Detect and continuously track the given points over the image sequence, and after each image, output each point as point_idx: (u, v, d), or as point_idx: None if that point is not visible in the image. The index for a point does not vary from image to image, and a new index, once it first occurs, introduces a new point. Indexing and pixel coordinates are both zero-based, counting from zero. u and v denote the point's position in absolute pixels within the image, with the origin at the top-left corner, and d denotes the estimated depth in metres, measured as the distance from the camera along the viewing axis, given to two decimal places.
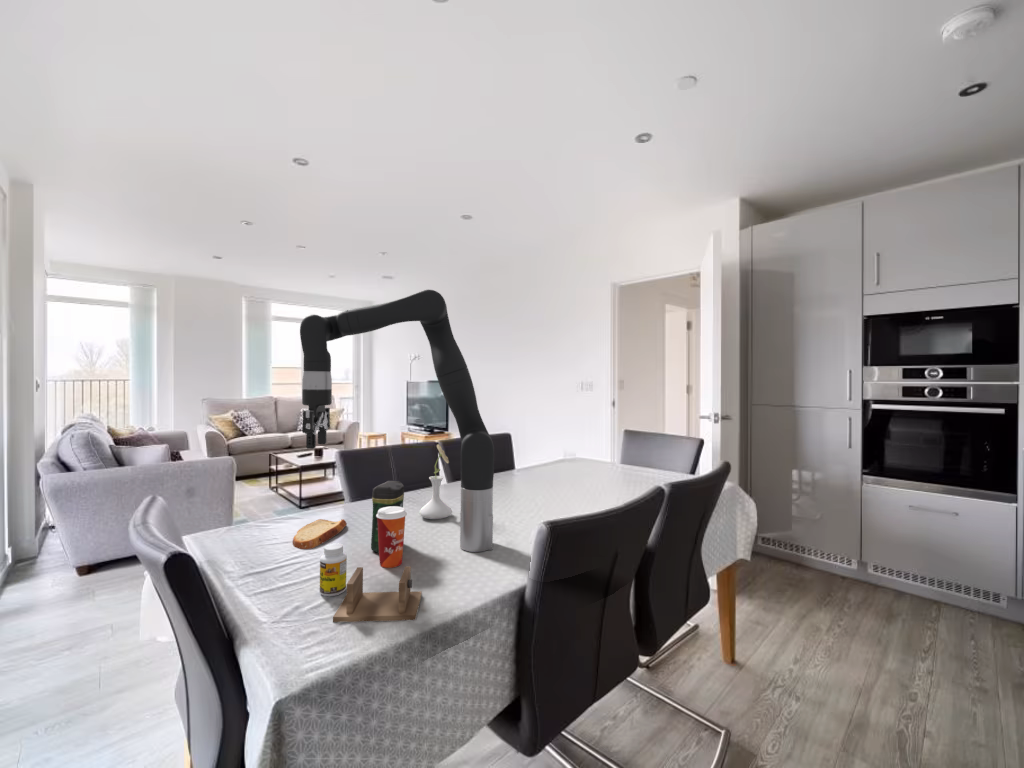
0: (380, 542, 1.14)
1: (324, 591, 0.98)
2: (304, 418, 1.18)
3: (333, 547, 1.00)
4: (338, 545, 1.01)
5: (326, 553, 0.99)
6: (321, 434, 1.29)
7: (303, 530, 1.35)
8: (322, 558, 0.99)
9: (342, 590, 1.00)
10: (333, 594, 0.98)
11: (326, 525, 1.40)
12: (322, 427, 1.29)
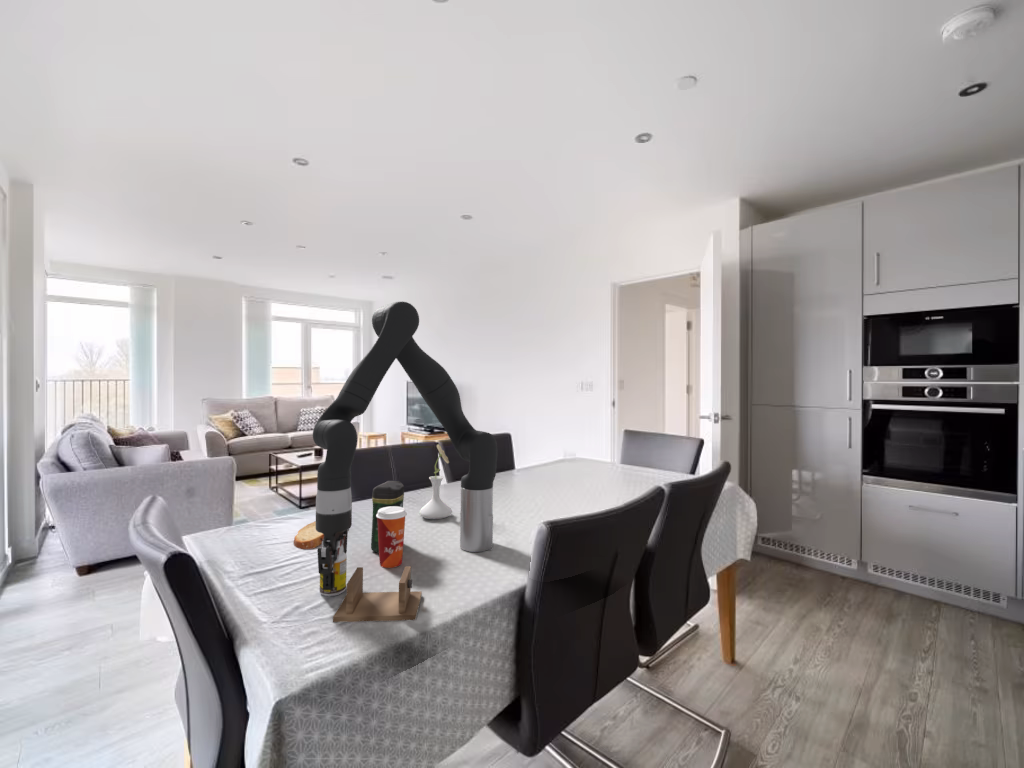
0: (380, 542, 1.14)
1: (324, 591, 0.98)
2: (320, 558, 0.94)
3: None
4: None
5: None
6: None
7: (304, 530, 1.35)
8: None
9: (342, 590, 1.00)
10: (333, 594, 0.98)
11: None
12: None
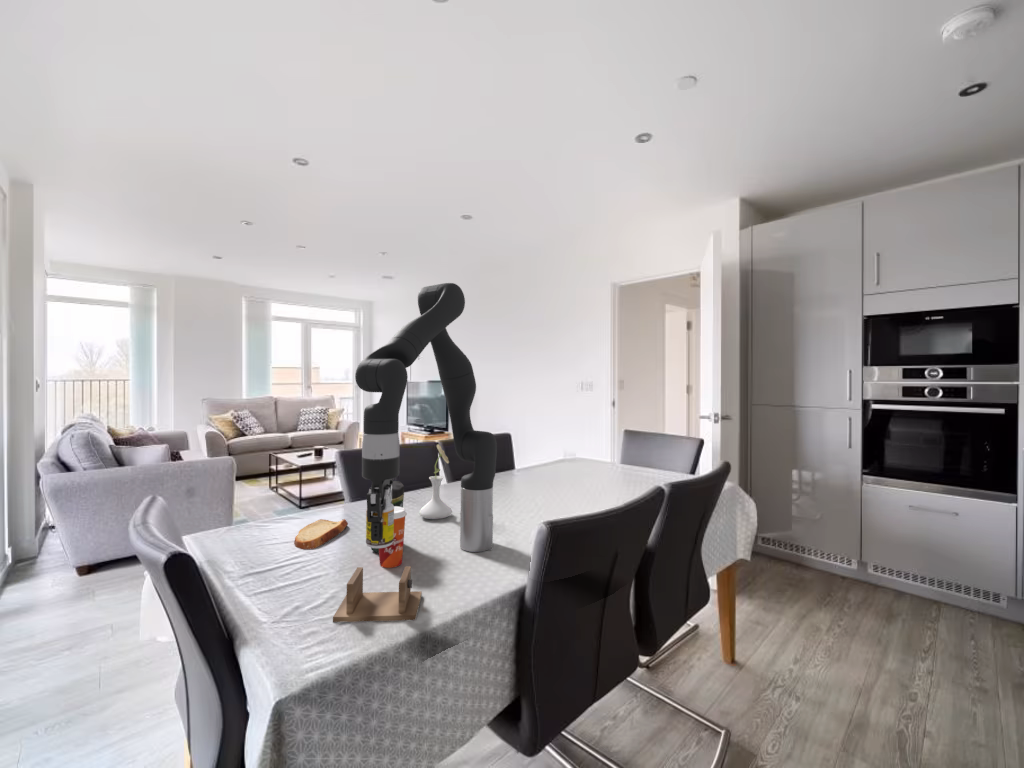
0: None
1: (372, 543, 0.91)
2: (369, 505, 0.87)
3: None
4: None
5: None
6: None
7: (305, 530, 1.35)
8: None
9: (390, 542, 0.93)
10: (381, 546, 0.91)
11: (327, 525, 1.40)
12: None
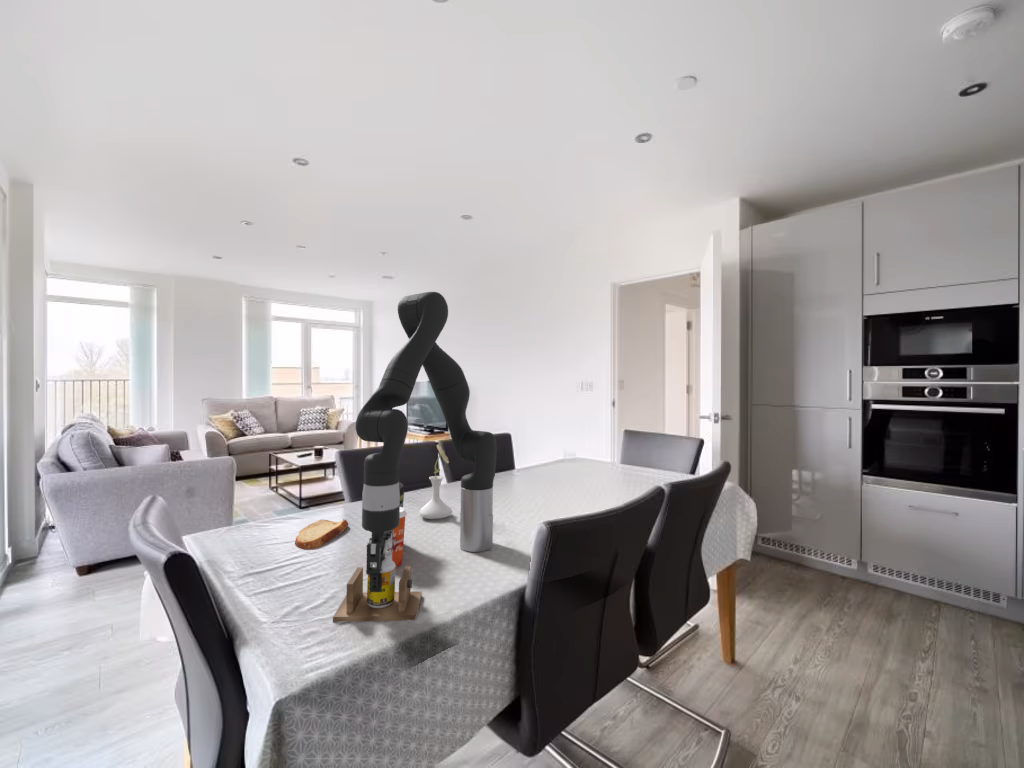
0: None
1: (373, 603, 0.91)
2: (369, 555, 0.87)
3: None
4: (387, 553, 0.94)
5: (375, 562, 0.92)
6: None
7: (305, 531, 1.35)
8: None
9: (391, 601, 0.93)
10: (383, 606, 0.91)
11: (328, 525, 1.40)
12: None
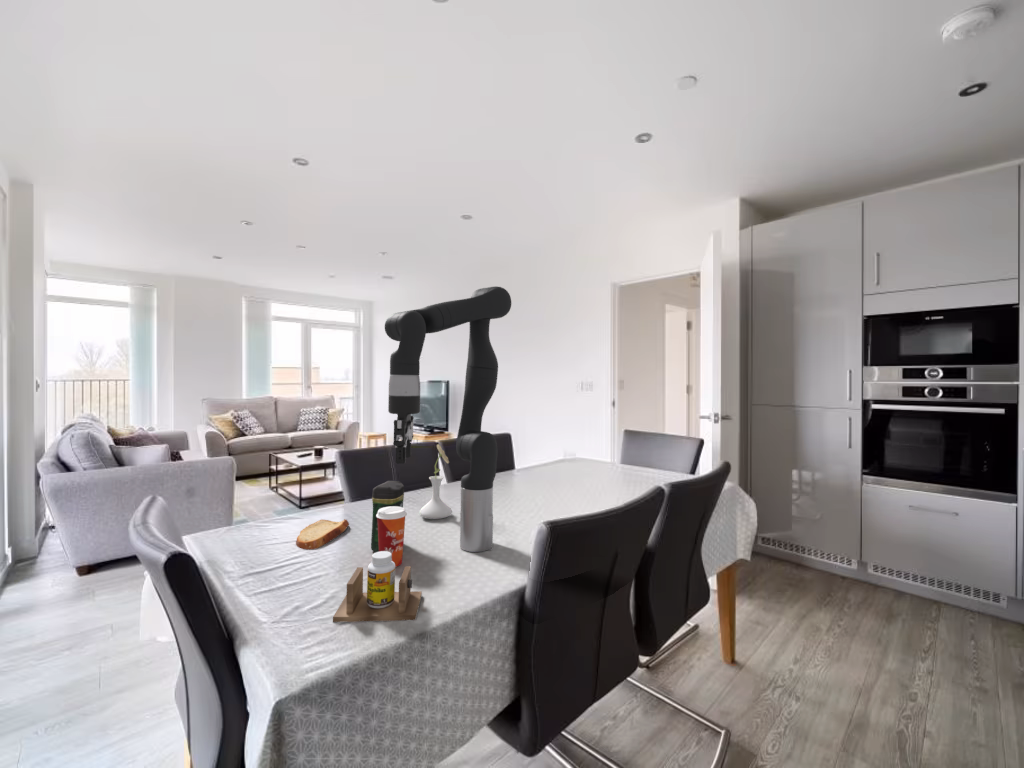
0: (380, 542, 1.14)
1: (374, 603, 0.91)
2: (395, 429, 1.02)
3: (383, 556, 0.93)
4: (386, 553, 0.94)
5: (375, 562, 0.92)
6: (405, 445, 1.13)
7: (306, 531, 1.35)
8: (371, 568, 0.92)
9: (392, 601, 0.93)
10: (383, 606, 0.91)
11: (329, 525, 1.40)
12: None
